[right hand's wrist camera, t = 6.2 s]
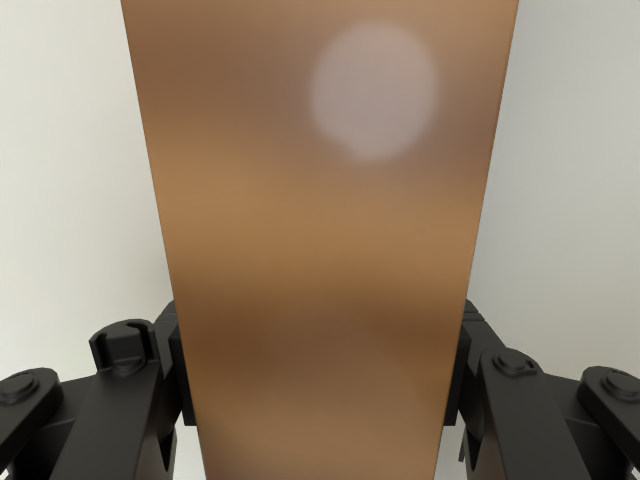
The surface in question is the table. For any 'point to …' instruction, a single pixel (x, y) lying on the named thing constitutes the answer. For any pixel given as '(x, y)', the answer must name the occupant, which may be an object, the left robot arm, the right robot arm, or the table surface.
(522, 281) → the table surface
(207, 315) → the post
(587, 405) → the right robot arm
